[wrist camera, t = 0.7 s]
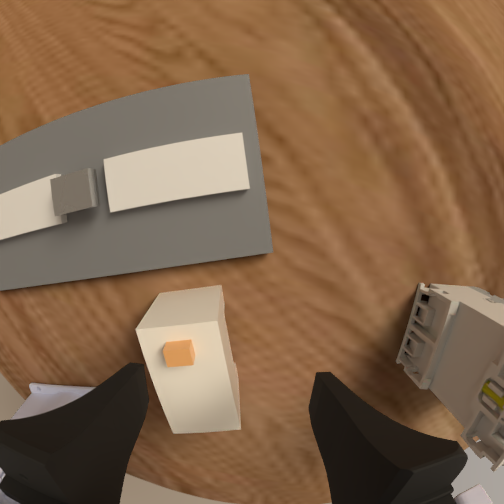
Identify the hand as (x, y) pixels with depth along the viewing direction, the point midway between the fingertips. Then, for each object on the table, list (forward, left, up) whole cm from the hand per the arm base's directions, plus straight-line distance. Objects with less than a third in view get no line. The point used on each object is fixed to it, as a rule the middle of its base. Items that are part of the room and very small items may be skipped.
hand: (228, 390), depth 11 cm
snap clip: (-9, +9, -8) cm, 15 cm away
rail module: (-3, -3, -10) cm, 11 cm away
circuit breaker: (+21, -7, -10) cm, 25 cm away
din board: (-9, +9, -10) cm, 16 cm away
